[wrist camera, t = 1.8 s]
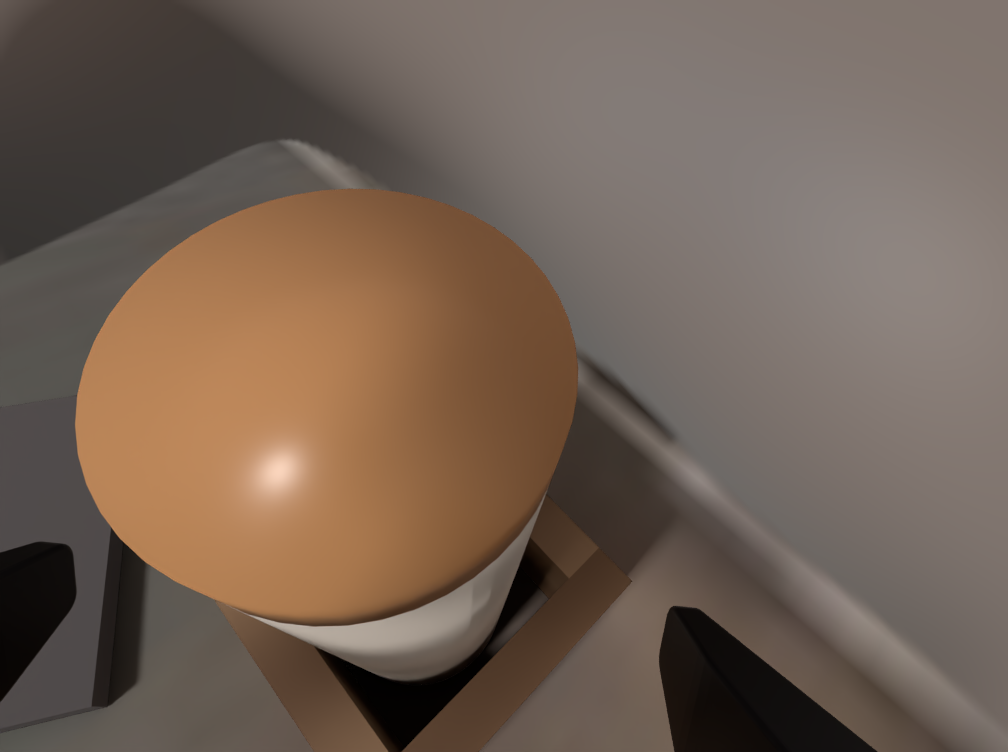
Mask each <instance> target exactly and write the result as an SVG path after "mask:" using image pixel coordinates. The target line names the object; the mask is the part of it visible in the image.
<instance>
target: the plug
mask: <svg viewBox="0 0 1008 752" xmlns="http://www.w3.org/2000/svg"><path fill="white" fill-rule="evenodd" d="M577 386H578V363H577V355H576V347H575V341H574V337H573V334H572V330H571V327H570V323H569V320H568V317H567V314H566V312H565V310H564V308H563V306H562V303H561V301H560V299H559V296H558V295H557V293H556V292H555V290H554V289H553V287H552V285H551V284H550V282H549V280H548V279H547V277H546V276H545V274H544V273H543V272H542V271H541V270H540V268H539V267H538V266H537V265H536V264H535V263H534V261H533V260H532V259H531V258H530V257H529V256H528V255H527V254H526V253H525V252H524V251H523V250H522V249H521V248H520V247H519V246H517V245H516V244H515V243H514V242H513V241H512V240H511V239H509V238H508V237H507V236H505V235H504V234H502V233H501V232H500V231H498V230H497V229H495V228H494V227H492V226H491V225H489V224H487V223H485V222H484V221H482V220H480V219H478V218H477V217H475V216H473V215H471V214H469V213H466V212H464V211H462V210H459V209H457V208H455V207H452V206H450V205H447V204H444V203H441V202H438V201H435V200H432V199H428V198H425V197H420V196H415V195H411V194H406V193H401V192H393V191H384V190H376V189H339V190H323V191H316V192H310V193H303V194H296V195H292V196H288V197H284V198H280V199H276V200H272V201H268V202H265V203H262V204H259V205H256V206H253V207H250V208H247V209H244V210H242V211H239V212H237V213H235V214H233V215H230V216H228V217H226V218H224V219H221V220H219V221H217V222H215V223H213V224H212V225H210V226H208V227H206V228H204V229H203V230H201V231H199V232H197V233H195V234H194V235H192V236H190V237H189V238H188V239H186V240H185V241H183V242H182V243H180V244H179V245H177V246H176V247H175V248H173V249H172V250H170V251H169V252H168V253H166V254H165V255H164V256H163V257H162V258H161V259H159V260H158V261H157V262H156V263H155V264H153V265H152V266H151V267H150V268H149V269H148V270H146V272H145V273H144V274H143V275H142V276H141V277H140V278H139V279H138V280H137V281H136V282H135V283H134V284H133V285H132V286H131V287H130V288H129V290H128V291H127V292H126V293H125V294H124V296H123V297H122V298H121V300H120V301H119V302H118V304H117V305H116V306H115V308H114V309H113V310H112V312H111V313H110V314H109V316H108V318H107V320H106V321H105V323H104V325H103V327H102V328H101V330H100V332H99V334H98V335H97V337H96V339H95V341H94V344H93V346H92V349H91V351H90V354H89V356H88V359H87V361H86V364H85V366H84V370H83V374H82V378H81V382H80V386H79V390H78V395H77V406H76V419H75V429H76V440H77V450H78V457H79V460H80V464H81V467H82V471H83V475H84V478H85V482H86V485H87V487H88V489H89V491H90V493H91V495H92V497H93V499H94V501H95V503H96V505H97V507H98V509H99V511H100V513H101V514H102V515H103V517H104V518H105V519H106V521H107V522H108V523H109V525H110V526H111V528H112V529H113V530H114V532H115V533H116V534H117V536H118V537H119V538H120V539H121V540H122V541H123V542H124V543H125V544H126V545H127V546H128V547H129V548H131V549H132V550H133V551H134V552H135V553H136V554H137V555H138V556H139V557H140V558H141V559H142V560H143V561H145V562H146V563H148V564H149V565H151V566H152V567H154V568H155V569H157V570H158V571H160V572H161V573H163V574H165V575H166V576H168V577H169V578H171V579H172V580H174V581H176V582H178V583H180V584H182V585H184V586H186V587H188V588H191V589H193V590H195V591H197V592H199V593H201V594H204V595H206V596H208V597H210V598H212V599H214V600H216V601H219V602H221V603H223V604H225V605H227V606H229V607H232V608H234V609H236V610H238V611H240V612H242V613H244V614H247V615H249V616H251V617H253V618H255V619H257V620H260V621H262V622H264V623H266V624H268V625H270V626H272V627H275V628H277V629H279V630H281V631H283V632H285V633H287V634H290V635H292V636H294V637H296V638H298V639H300V640H303V641H305V642H307V643H309V644H311V645H313V646H315V647H318V648H320V649H322V650H324V651H326V652H328V653H331V654H333V655H335V656H337V657H339V658H341V659H343V660H346V661H348V662H350V663H352V664H354V665H356V666H359V667H361V668H363V669H365V670H367V671H369V672H371V673H374V674H376V675H378V676H380V677H382V678H385V679H387V680H389V681H391V682H395V683H399V684H403V685H412V686H417V685H428V684H434V683H438V682H441V681H444V680H446V679H448V678H450V677H452V676H454V675H456V674H458V673H459V672H461V671H462V670H464V669H465V668H467V667H468V666H469V665H470V664H471V663H472V662H473V661H474V660H475V659H476V658H477V657H478V656H479V655H480V654H481V652H482V651H483V650H484V648H485V647H486V645H487V644H488V642H489V640H490V638H491V636H492V634H493V632H494V630H495V627H496V625H497V622H498V619H499V617H500V614H501V612H502V609H503V606H504V604H505V601H506V598H507V596H508V593H509V590H510V588H511V585H512V582H513V580H514V577H515V575H516V572H517V569H518V567H519V564H520V561H521V559H522V556H523V553H524V551H525V548H526V545H527V543H528V540H529V538H530V535H531V532H532V530H533V527H534V524H535V522H536V519H537V516H538V514H539V511H540V508H541V506H542V503H543V501H544V498H545V495H546V493H547V490H548V487H549V485H550V482H551V479H552V477H553V474H554V471H555V469H556V466H557V464H558V461H559V458H560V456H561V453H562V450H563V447H564V445H565V442H566V439H567V436H568V433H569V430H570V427H571V424H572V420H573V415H574V410H575V404H576V399H577Z"/></svg>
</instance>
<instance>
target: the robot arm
mask: <svg viewBox="0 0 1008 752" xmlns="http://www.w3.org/2000/svg"><path fill="white" fill-rule="evenodd" d="M76 595H77V587H76V577H75V566H74V556H73V551H72V549H71V548H70V546H68V545H67V544H63V543H53V542H44V541H40V542H34V543H30V544H27V545H24V546H20V547H17V548H14V549H10V550H7V551H4V552H0V702H1V701H2V700H3V699H4V697H5V696H6V695H7V694H8V692H9V691H10V690H11V688H12V687H13V686H14V685H15V683H16V682H17V681H18V679H19V678H20V677H21V675H22V674H23V673H24V671H25V670H26V669H27V667H28V666H29V665H30V663H31V662H32V661H33V659H34V658H35V657H36V655H37V654H38V653H39V651H40V650H41V649H42V647H43V646H44V645H45V643H46V642H47V641H48V640H49V638H50V637H51V636H52V634H53V633H54V632H55V630H56V629H57V628H58V626H59V625H60V624H61V622H62V621H63V620H64V618H65V617H66V616H67V614H68V613H69V612H70V610H71V609H72V607H73V605H74V602H75V599H76ZM659 666H660V673H661V679H662V684H663V690H664V696H665V701H666V707H667V713H668V718H669V724H670V729H671V735H672V741H673V746H674V752H877V751H876V750H875V749H873V748H872V747H871V746H870V745H868V744H867V743H866V742H865V741H863V740H862V739H861V738H860V737H858V736H857V735H856V734H855V733H853V732H852V731H851V730H850V729H848V728H847V727H846V726H845V725H843V724H842V723H841V722H840V721H838V720H837V719H836V718H835V717H833V716H832V715H831V714H830V713H828V712H827V711H826V710H825V709H823V708H822V707H821V706H820V705H818V704H817V703H816V702H815V701H813V700H812V699H811V698H810V697H808V696H807V695H806V694H805V693H803V692H802V691H801V690H800V689H798V688H797V687H796V686H795V685H793V684H792V683H791V682H790V681H788V680H787V679H786V678H785V677H783V676H782V675H781V674H780V673H778V672H777V671H776V670H775V669H773V668H772V667H771V666H770V665H769V664H767V663H766V662H765V661H764V660H762V659H761V658H760V657H759V656H757V655H756V654H755V653H754V652H752V651H751V650H750V649H749V648H747V647H746V646H745V645H744V644H742V643H741V642H740V641H739V640H737V639H736V638H735V637H734V636H732V635H731V634H730V633H729V632H727V631H726V630H725V629H724V628H722V627H721V626H720V625H719V624H717V623H716V622H715V621H714V620H712V619H711V618H710V617H709V616H707V615H706V614H705V613H704V612H702V611H701V610H700V609H697V608H692V607H681V606H673V607H671V608H670V609H669V611H668V614H667V618H666V623H665V628H664V633H663V638H662V643H661V647H660V654H659Z"/></svg>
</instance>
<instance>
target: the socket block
mask: <svg viewBox="0 0 1008 752" xmlns="http://www.w3.org/2000/svg"><path fill="white" fill-rule="evenodd" d="M519 566H520V567H521V568H522V569H523V571H524V572H525V573H526V574H527V575H528V576H529V577H530V578H531V579H532V580H533V582H534V583H535V584H536V585H537V586H538V587H539V588H540V589H541V590H542V591H543V593H544V594H545V595H546V596H547V597H548V598H549V600H548V601H547V602H546V603H545V604H544V605H543V606H542V607H541V608H540V609H539V610H538V611H537V612H536V613H535V614H534V615H533V616H532V617H531V618H530V619H529V621H528V622H527V623H526V624H525V625H524V626H523V627H522V628H521V629H520V630H519V631H518V632H517V633H516V634H515V635H514V636H513V637H512V638H511V639H510V640H509V641H508V642H507V643H506V644H505V645H504V646H503V647H502V648H501V649H500V650H499V652H498V653H497V654H496V655H495V656H494V657H493V658H492V659H491V660H490V661H489V662H488V663H487V664H486V665H485V666H484V667H483V668H482V669H481V670H480V671H479V672H478V673H477V674H476V675H475V676H474V677H473V678H472V679H471V680H470V682H469V683H468V684H467V685H466V686H465V687H464V688H463V689H462V690H461V691H460V692H459V693H458V694H457V695H456V696H455V697H454V698H453V699H452V700H451V701H450V702H449V703H448V704H447V705H446V706H445V707H444V708H443V709H442V710H441V711H440V713H439V714H438V715H437V716H436V717H435V718H434V719H433V720H432V721H431V722H430V723H429V724H428V725H427V726H426V727H425V728H424V729H423V730H422V731H421V732H420V733H419V734H418V735H417V736H416V737H415V738H414V739H413V740H412V741H411V743H410V744H409V745H408V746H407V747H406V748H404V747H403V745H402V744H401V742H400V741H399V740H398V738H397V737H396V735H395V734H394V733H393V731H392V730H391V729H390V727H389V726H388V724H387V723H386V722H385V720H384V719H383V717H382V716H381V715H380V713H379V712H378V711H377V709H376V708H375V706H374V705H373V704H372V702H371V701H370V699H369V698H368V697H367V695H366V694H365V692H364V691H363V690H362V688H361V687H360V686H359V684H358V683H357V681H356V680H355V679H354V677H353V676H352V674H351V673H350V672H349V670H348V669H347V668H346V666H345V665H344V663H343V662H342V661H341V659H340V658H339V657H337V656H335V655H333V654H331V653H328V652H326V651H324V650H322V649H320V648H318V647H315V646H313V645H311V644H309V643H307V642H305V641H303V640H300V639H298V638H296V637H294V636H292V635H290V634H287V633H285V632H283V631H281V630H279V629H277V628H275V627H272V626H270V625H268V624H266V623H264V622H262V621H260V620H257V619H255V618H253V617H251V616H249V615H247V614H244V613H242V612H240V611H238V610H236V609H234V608H232V607H229V606H227V605H225V604H223V603H221V602H219V601H216V600H215V602H216V603H217V605H218V606H219V608H220V609H221V611H222V612H223V614H224V615H225V617H226V618H227V620H228V621H229V623H230V624H231V626H232V628H233V629H234V631H235V632H236V634H237V635H238V637H239V638H240V640H241V641H242V643H243V644H244V646H245V647H246V649H247V650H248V652H249V653H250V655H251V656H252V658H253V659H254V661H255V662H256V664H257V666H258V667H259V669H260V670H261V672H262V673H263V675H264V676H265V678H266V679H267V681H268V682H269V684H270V685H271V687H272V688H273V690H274V691H275V693H276V694H277V696H278V697H279V699H280V700H281V702H282V703H283V705H284V707H285V708H286V710H287V711H288V713H289V714H290V716H291V717H292V719H293V720H294V722H295V723H296V725H297V726H298V728H299V729H300V731H301V732H302V734H303V735H304V737H305V738H306V740H307V741H308V743H309V744H310V746H311V748H312V749H313V751H314V752H479V751H480V749H481V748H482V747H483V746H484V745H485V744H486V743H487V742H488V741H489V739H490V738H491V737H492V736H493V735H494V734H495V733H496V732H497V731H498V730H499V728H500V727H501V726H502V725H503V724H504V723H505V722H506V721H507V720H508V718H509V717H510V716H511V715H512V714H513V713H514V712H515V711H516V710H517V708H518V707H519V706H520V705H521V704H522V703H523V702H524V701H525V700H526V699H527V697H528V696H529V695H530V694H531V693H532V692H533V691H534V690H535V689H536V687H537V686H538V685H539V684H540V683H541V682H542V681H543V680H544V679H545V677H546V676H547V675H548V674H549V673H550V672H551V671H552V670H553V669H554V667H555V666H556V665H557V664H558V663H559V662H560V661H561V660H562V659H563V658H564V656H565V655H566V654H567V653H568V652H569V651H570V650H571V649H572V648H573V646H574V645H575V644H576V643H577V642H578V641H579V640H580V639H581V638H582V636H583V635H584V634H585V633H586V632H587V631H588V630H589V629H590V628H591V627H592V625H593V624H594V623H595V622H596V621H597V620H598V619H599V618H600V617H601V615H602V614H603V613H604V612H605V611H606V610H607V609H608V608H609V607H610V605H611V604H612V603H613V602H614V601H615V600H616V599H617V598H618V597H619V596H620V594H621V593H622V592H623V591H624V590H625V589H626V588H627V587H628V586H629V584H630V583H631V582H632V580H631V579H630V578H629V577H628V576H627V575H626V574H625V573H624V572H623V571H622V570H621V569H620V568H619V567H618V566H617V565H616V564H615V563H614V562H613V561H612V560H611V559H610V558H609V557H608V556H607V555H606V554H605V553H604V552H603V551H602V550H601V549H600V548H599V547H598V546H597V545H596V544H595V543H594V542H593V541H592V540H591V539H590V538H589V537H588V536H587V535H586V534H585V533H584V532H583V531H582V530H581V529H580V528H579V527H578V526H577V525H576V524H575V523H574V522H573V521H572V520H571V519H570V518H569V517H568V516H567V515H566V514H565V513H564V512H563V511H562V510H561V509H560V508H559V507H558V506H557V505H556V504H555V503H554V502H553V501H552V500H551V499H550V497H549V496H548V495H547V494H546V495H545V498H544V501H543V503H542V506H541V508H540V511H539V514H538V516H537V519H536V522H535V524H534V527H533V530H532V532H531V535H530V538H529V540H528V543H527V545H526V548H525V551H524V553H523V556H522V559H521V561H520V564H519Z"/></svg>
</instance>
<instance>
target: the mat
mask: <svg viewBox="0 0 1008 752" xmlns="http://www.w3.org/2000/svg"><path fill="white" fill-rule="evenodd" d="M76 406H77V395H76V396H70V397H63V398H57V399H51V400H44V401H38V402H31V403H25V404H18V405H12V406H6V407H0V552H4V551H7V550H10V549H14V548H17V547H20V546H24V545H27V544H30V543H34V542H40V541H44V542H53V543H63V544H67V545H68V546H70V548H71V549H72V551H73V556H74V566H75V577H76V587H77V595H76V599H75V602H74V605H73V607H72V609H71V610H70V612H69V613H68V614H67V616H66V617H65V618H64V620H63V621H62V622H61V624H60V625H59V626H58V628H57V629H56V630H55V632H54V633H53V634H52V636H51V637H50V638H49V640H48V641H47V642H46V643H45V645H44V646H43V647H42V649H41V650H40V651H39V653H38V654H37V655H36V657H35V658H34V659H33V661H32V662H31V663H30V665H29V666H28V667H27V669H26V670H25V671H24V673H23V674H22V675H21V677H20V678H19V679H18V681H17V682H16V683H15V685H14V686H13V687H12V688H11V690H10V691H9V692H8V694H7V695H6V696H5V697H4V699H3V700H2V701H1V702H0V733H2V732H6V731H10V730H14V729H18V728H23V727H27V726H31V725H35V724H39V723H43V722H47V721H51V720H55V719H60V718H64V717H68V716H72V715H76V714H80V713H84V712H88V711H92V710H97V709H101V708H105V707H107V706H108V696H109V685H110V675H111V665H112V654H113V644H114V634H115V624H116V613H117V603H118V593H119V583H120V572H121V562H122V552H123V541H122V540H121V539H120V538H119V537H118V536H117V534H116V533H115V532H114V530H113V529H112V528H111V526H110V525H109V523H108V522H107V521H106V519H105V518H104V517H103V515H102V514H101V513H100V511H99V509H98V507H97V505H96V503H95V501H94V499H93V497H92V495H91V493H90V491H89V489H88V487H87V485H86V482H85V478H84V475H83V471H82V467H81V464H80V460H79V457H78V450H77V440H76V429H75V419H76Z"/></svg>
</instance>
